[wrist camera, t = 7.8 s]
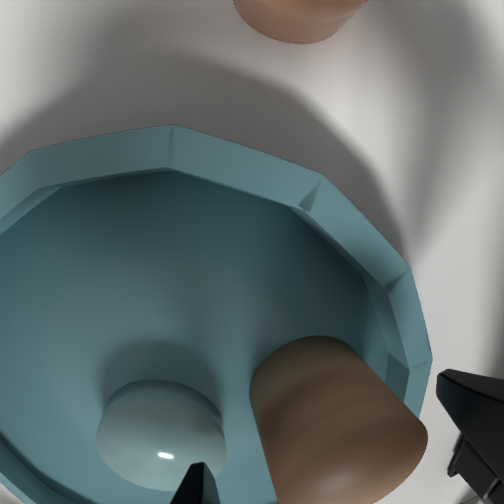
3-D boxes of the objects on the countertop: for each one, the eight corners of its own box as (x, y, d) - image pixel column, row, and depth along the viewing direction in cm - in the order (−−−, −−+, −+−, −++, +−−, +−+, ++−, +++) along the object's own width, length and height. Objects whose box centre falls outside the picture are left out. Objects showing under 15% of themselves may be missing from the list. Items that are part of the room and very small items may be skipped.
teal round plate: (398, 135, 10) (441, 127, 8) (365, 492, 14) (381, 520, 12) (-73, 198, 8) (-111, 204, 5) (58, 516, 12) (51, 543, 9)
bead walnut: (364, 406, 11) (419, 480, 7) (264, 442, 11) (292, 533, 7) (355, 318, 10) (434, 388, 6) (234, 358, 10) (259, 459, 6)
